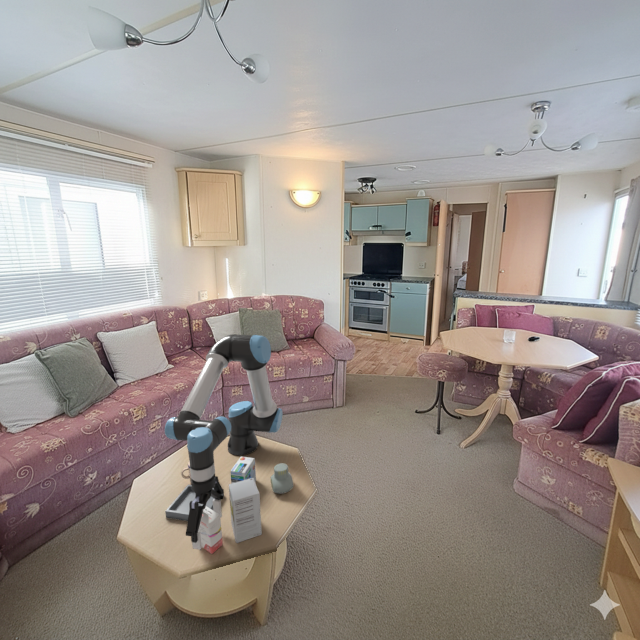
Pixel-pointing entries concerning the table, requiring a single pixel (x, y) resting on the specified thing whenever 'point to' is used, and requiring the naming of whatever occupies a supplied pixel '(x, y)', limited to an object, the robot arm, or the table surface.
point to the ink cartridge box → (210, 530)
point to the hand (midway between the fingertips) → (208, 531)
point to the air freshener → (281, 479)
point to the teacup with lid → (189, 472)
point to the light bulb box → (243, 470)
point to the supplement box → (245, 509)
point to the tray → (185, 504)
